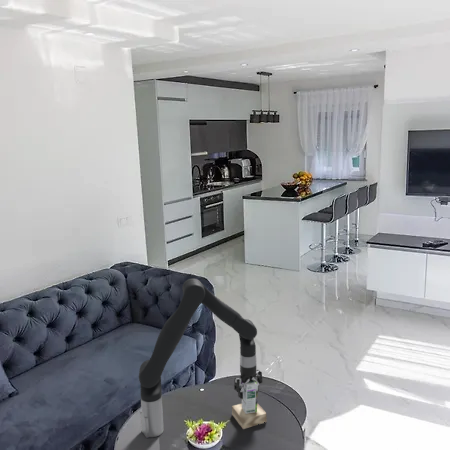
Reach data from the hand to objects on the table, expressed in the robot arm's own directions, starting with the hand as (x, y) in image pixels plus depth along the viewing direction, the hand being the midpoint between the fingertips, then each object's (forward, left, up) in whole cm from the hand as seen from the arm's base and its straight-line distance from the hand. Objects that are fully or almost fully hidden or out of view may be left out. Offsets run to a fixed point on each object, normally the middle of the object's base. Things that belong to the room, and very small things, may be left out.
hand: (248, 395), depth 213 cm
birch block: (0, 0, -13) cm, 13 cm away
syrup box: (0, 0, -8) cm, 8 cm away
